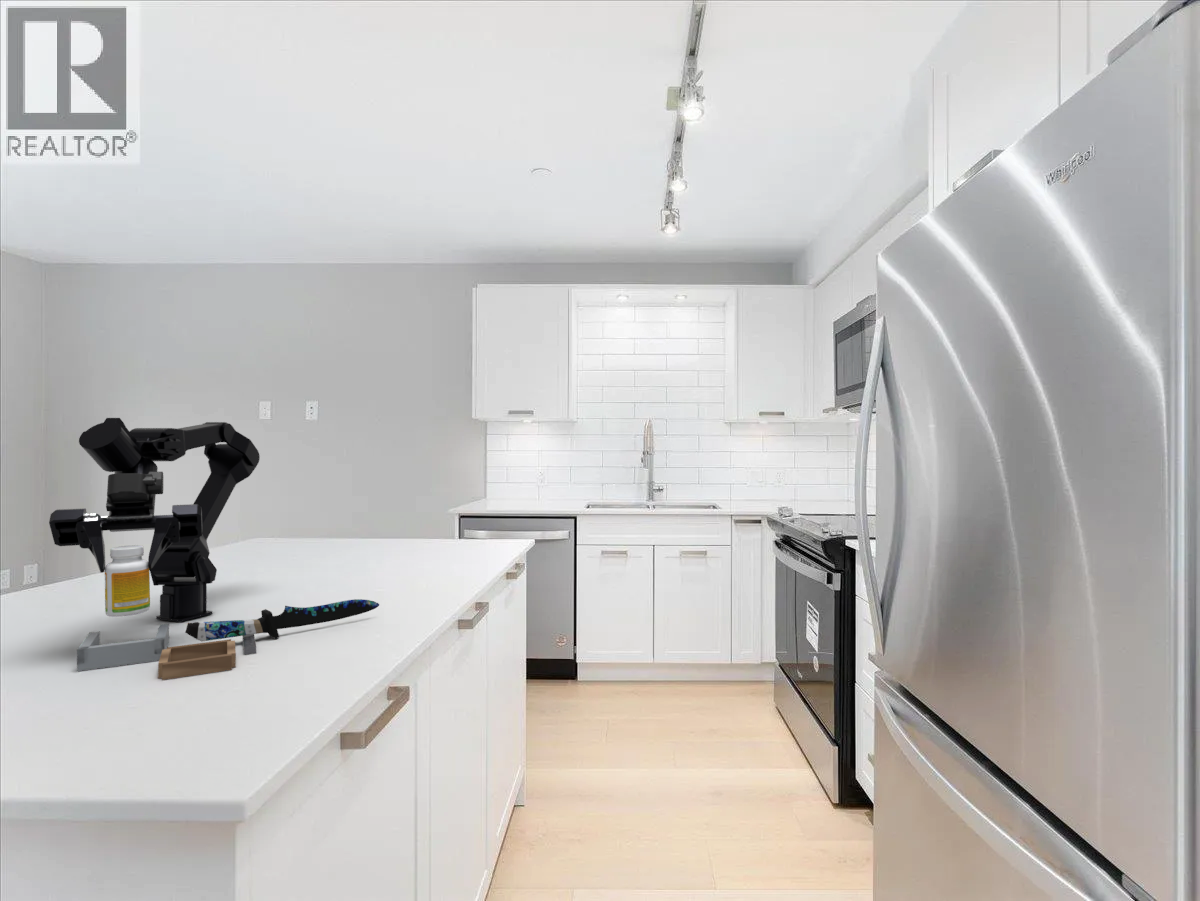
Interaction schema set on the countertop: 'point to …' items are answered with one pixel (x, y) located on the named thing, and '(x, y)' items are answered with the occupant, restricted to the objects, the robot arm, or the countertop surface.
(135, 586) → the supplement bottle
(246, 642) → the bar
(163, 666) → the socket collar
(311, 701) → the countertop surface
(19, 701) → the countertop surface
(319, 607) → the knife
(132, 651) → the tray
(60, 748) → the countertop surface
